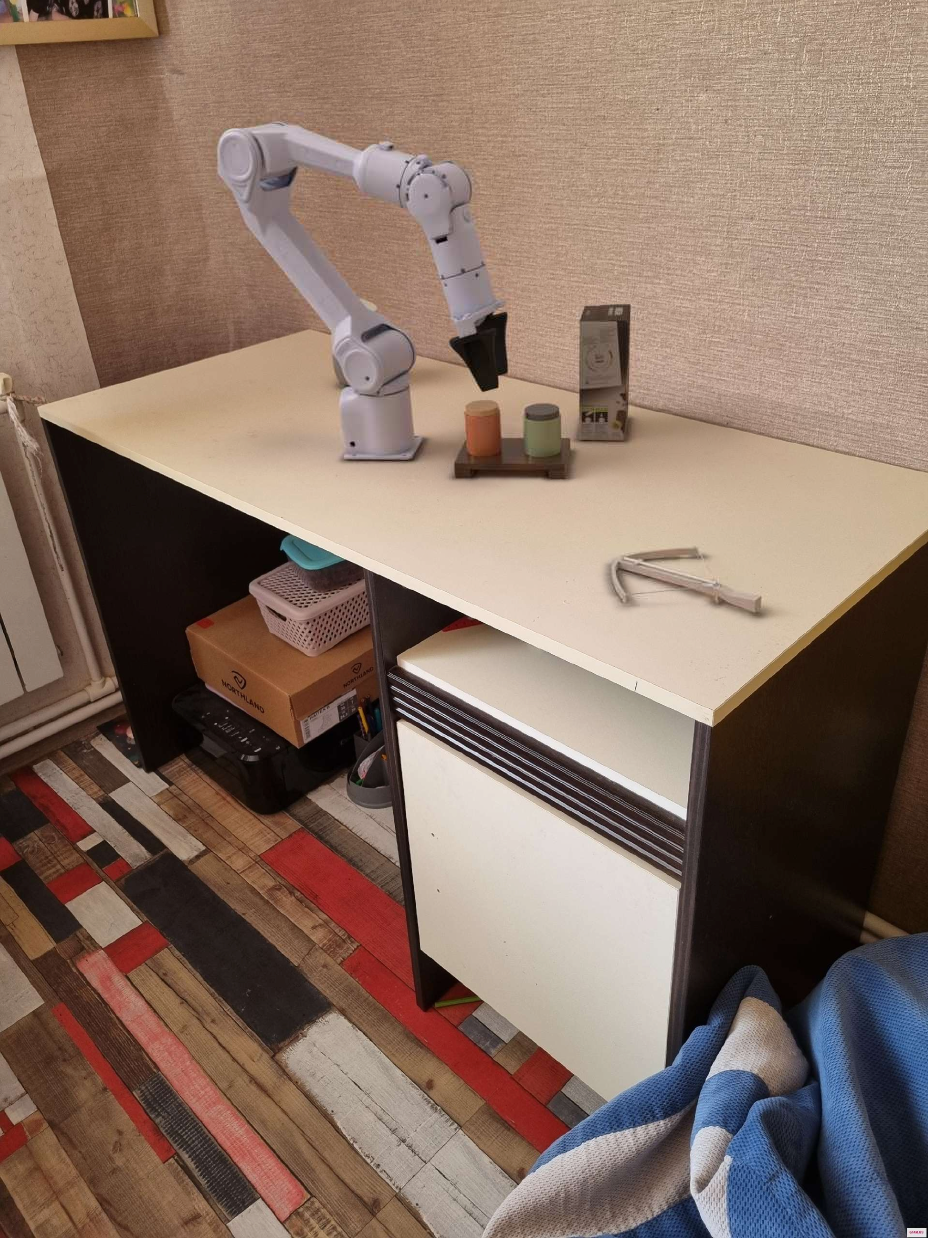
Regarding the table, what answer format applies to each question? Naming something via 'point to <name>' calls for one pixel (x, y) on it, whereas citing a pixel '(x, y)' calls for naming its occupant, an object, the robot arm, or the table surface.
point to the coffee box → (604, 372)
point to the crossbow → (680, 577)
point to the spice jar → (483, 428)
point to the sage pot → (542, 430)
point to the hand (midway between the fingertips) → (495, 382)
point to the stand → (514, 459)
